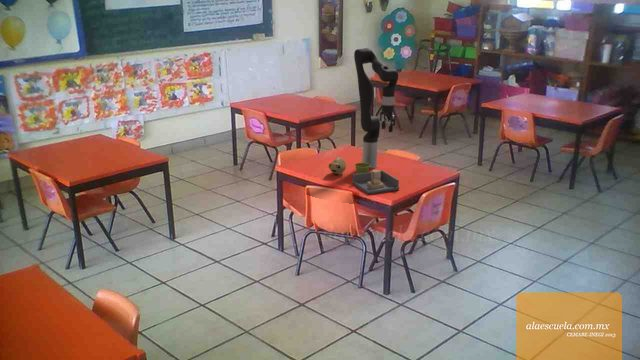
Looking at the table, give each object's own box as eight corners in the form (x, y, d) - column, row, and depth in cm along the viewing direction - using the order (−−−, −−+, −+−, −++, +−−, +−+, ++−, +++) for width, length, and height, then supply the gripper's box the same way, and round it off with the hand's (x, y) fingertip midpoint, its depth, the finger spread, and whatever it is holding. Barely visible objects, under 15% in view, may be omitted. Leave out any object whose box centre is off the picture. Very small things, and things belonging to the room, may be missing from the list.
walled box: (352, 184, 355) (352, 174, 353) (382, 179, 363) (382, 170, 361) (368, 194, 338) (368, 184, 336) (399, 190, 346) (399, 180, 344)
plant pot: (351, 178, 365) (351, 164, 362) (361, 174, 372) (362, 161, 369) (362, 182, 359) (363, 168, 356) (373, 178, 365) (373, 164, 362)
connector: (370, 185, 351) (371, 170, 348) (377, 184, 353) (377, 169, 350) (374, 187, 348) (374, 172, 345) (380, 186, 349) (380, 171, 346)
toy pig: (325, 176, 369) (325, 159, 366) (333, 170, 379) (334, 154, 376) (340, 178, 365) (340, 161, 362) (348, 172, 375) (348, 156, 372)
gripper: (399, 105, 346) (398, 132, 351) (387, 100, 358) (386, 127, 363) (388, 106, 343) (387, 133, 348) (376, 101, 355) (375, 128, 361)
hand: (386, 130), depth 356 cm, fingers open, 8 cm apart
